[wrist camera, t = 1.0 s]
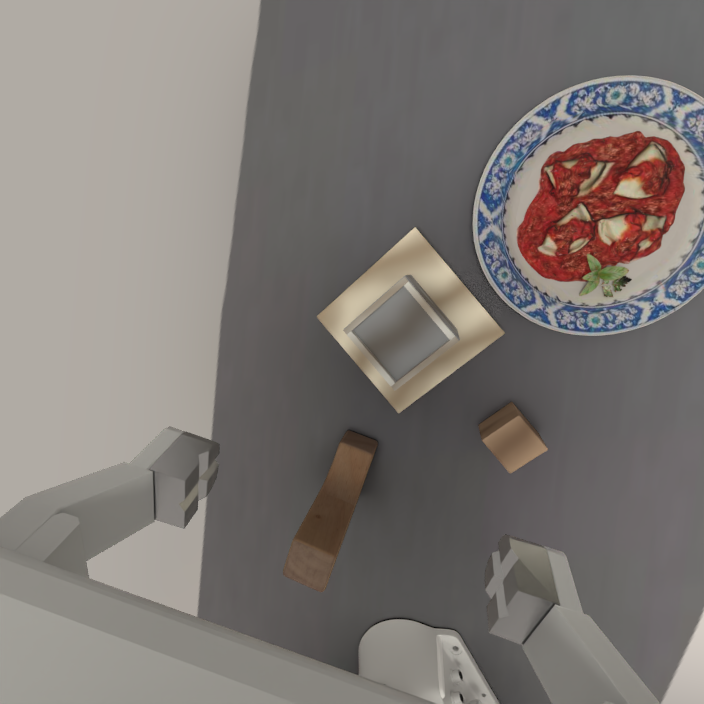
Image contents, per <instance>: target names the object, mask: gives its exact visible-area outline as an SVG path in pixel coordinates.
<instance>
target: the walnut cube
mask: <svg viewBox="0 0 704 704" xmlns="http://www.w3.org/2000/svg"><path fill="white" fill-rule="evenodd" d="M478 426H479V430H480V435H481V439H482V441H483V442H484V443H485V445H486V446H487V447H488V448H489V449H490V451H491V452H492V453H493V454H494V455H495V456H496V458H497V459H498V460H499V461H500V462H501V463H502V465H503V466H504V467H505V468H506V469H507V471H508V472H509V473H512V472H514V471H515V470H517V469H518V468H520V467H521V466H523V465H525V464H526V463H528V462H529V461H531V460H532V459H534V458H536V457H537V456H539V455H540V454H542V453H543V452H545V451H547V450H548V448H547V447H546V445H545V443H544V442H543V440H542V438H541V437H540V435H539V433H538V432H537V431H536V430H535V428H534V427H533V426H532V425H531V424H530V423H529V421H528V420H527V419H526V418H525V417H524V415H523V414H522V413H521V412H520V411H519V410H518V408H517V407H516V406H515V405H514V404H513V402H510V403H509V404H508V405H506V406H505V407H503V408H502V409H500V410H499V411H498V412H496V413H495V414H493V415H492V416H490V417H489V418H487V419H486V420H485V421H483V422H482V423H480V424H479V425H478Z"/></svg>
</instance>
